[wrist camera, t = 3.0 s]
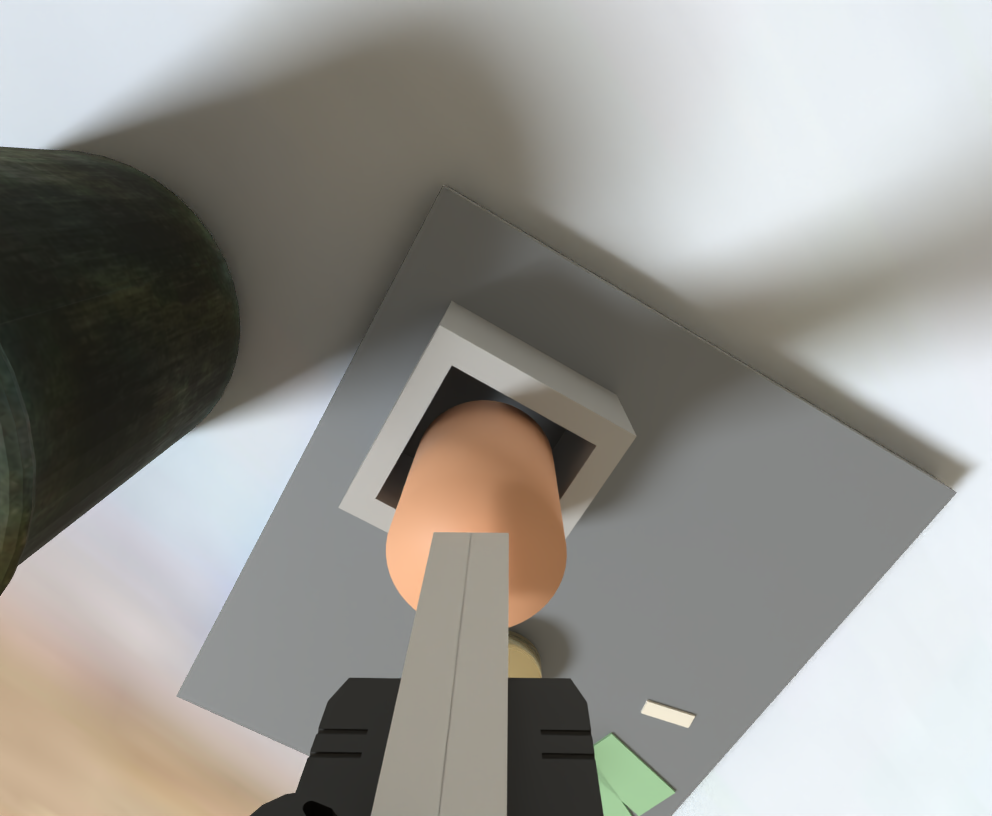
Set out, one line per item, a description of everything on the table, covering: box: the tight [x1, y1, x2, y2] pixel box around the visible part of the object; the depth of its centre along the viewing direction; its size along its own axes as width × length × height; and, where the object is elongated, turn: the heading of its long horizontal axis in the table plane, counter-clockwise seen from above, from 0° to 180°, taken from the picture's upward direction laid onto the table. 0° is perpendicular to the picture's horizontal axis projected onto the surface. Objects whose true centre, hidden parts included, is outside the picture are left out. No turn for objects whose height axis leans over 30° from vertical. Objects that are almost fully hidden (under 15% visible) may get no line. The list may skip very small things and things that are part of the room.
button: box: [386, 400, 567, 628], centre depth 17 cm, size 4×4×5 cm
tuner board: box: [177, 186, 956, 816], centre depth 24 cm, size 22×20×5 cm
